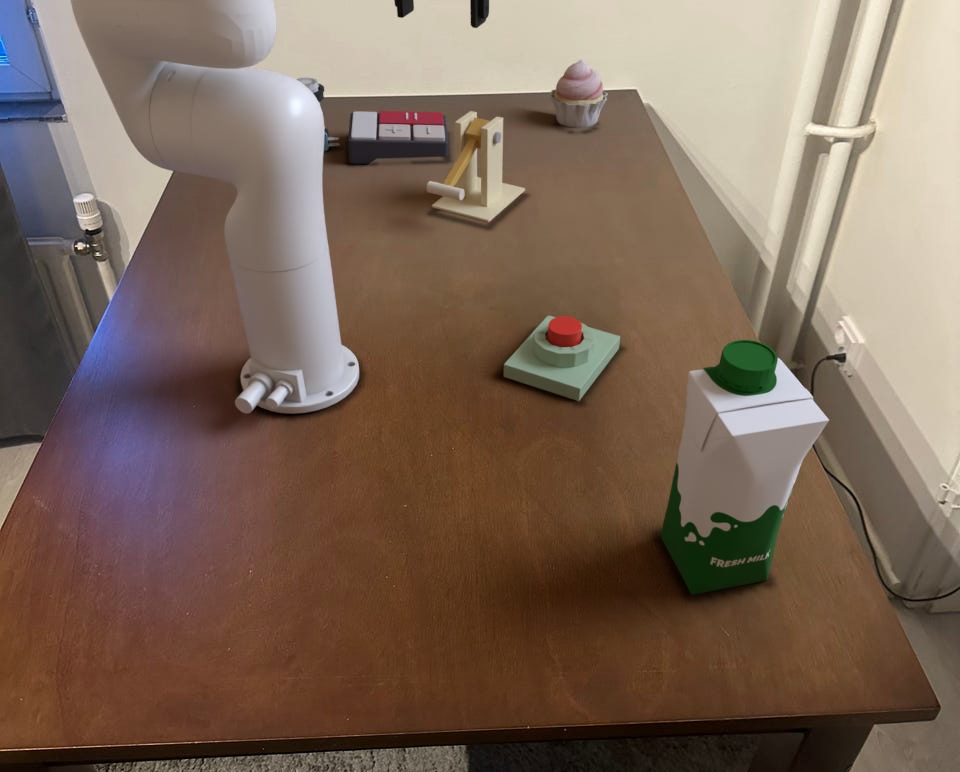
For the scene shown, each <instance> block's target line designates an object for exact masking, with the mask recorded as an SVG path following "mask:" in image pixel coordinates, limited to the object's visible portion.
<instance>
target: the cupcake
mask: <svg viewBox="0 0 960 772" xmlns="http://www.w3.org/2000/svg"><path fill="white" fill-rule="evenodd" d="M550 92H551V94H550V96H549V98H550V99H551V102H552V104H553V106H554V112H555V116H556V120H557V123H558V124H560V125H562V126H565V127H569V128H574V129H575V128H576V129H577V128H578V129H579V128H582V129H583V128H589V127H592V126H594V125H595V124H597V123H598V120H599V117H600V113H601V110H602V109H603V107H604V105H605V103H606V101H607V100H608V97H607V96H608V92H606V91H604V84H603V81H602V79H601V76H600V74H599V73H598V72H597V70H594V69H593V68H590V67H589V65H588V64H587V63H586V61H585V60H583V59H579V60H578V61H576V62H574V63H572V64H571V65H568V67H567V68H566V69H565V71H564V73H563V75H562V76H561V77H560V78H559V79H558V81H557V83H556V85H555V89H552V90H550Z"/></svg>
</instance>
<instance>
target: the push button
mask: <svg viewBox="0 0 960 772" xmlns="http://www.w3.org/2000/svg"><path fill="white" fill-rule="evenodd" d="M295 79H296V80H298V81H300V82H301V83H303V84H304V85H305V86H306V87H307V88H309V89H310V90H311V92H312V93H313V94H314V95H315V97H316V98H317V100H318V102H319V104H320V105H321V102H322V101H323V100H324V98H325V96H324V95H325V94H324V92H325V86H324V85H323V84H321V83H318V80H317V79H316V78H314V77H308V76H307V77H299V78H295ZM324 128H325V132H324V152H325V151H328V150H329V148H330V147H336V146H337V147H339V146H340V143H339V142H330V141H339V139H340V137H333V136H330V135H329V129H328V128H326V125H324Z"/></svg>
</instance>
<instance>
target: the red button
mask: <svg viewBox="0 0 960 772" xmlns="http://www.w3.org/2000/svg"><path fill="white" fill-rule="evenodd" d="M581 323H582V322H581V321H580V320H578V318H575V317H572V316H567V315H563V316H557V317H556V318H554V319H552V320H551V321H550V322H549V324H548V341H549V343H550V344H552V345H555V346H558V347H573V346H576V345H578V344H579V343H580V341H581V332H582V324H581Z"/></svg>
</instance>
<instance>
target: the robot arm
mask: <svg viewBox="0 0 960 772" xmlns="http://www.w3.org/2000/svg"><path fill="white" fill-rule="evenodd" d="M393 1H394V6H395V7H396V15H397V18H399V19H400V18H401V19H403V18H405V17H406V16H407V15H410V14H411V13H412V12H414V10H415V5H414V3H415V1H414V0H393ZM469 1H470V5H469V6H470V7H469V8H470V27H471V28H473V29H477V28H479V27H481V26H482V25H483V24H485V22H486V21H487V19H488V18H489V16H490V0H469ZM70 4H71V8H72V9H71V10H72V13H73V17H74V21H75V23H76V25H77V26H76V27H77V29H78V30H79V32H80V35H81V37H82V40H83V42H84V45H85V47H86V49H87V51H88V53H89V55H90V58H91V60H92V62H93V64H94V67H95V69H96V71H97V73H98V75H99V77H100V80H101V82H102V84H103V86H104V89H105V91H106V92H107V95H108V97H109V99H110V102H111V103H112V106H113V108H114V110H115V112H116V114H117V117H118V118H119V121H120V122H121V125H122V127H123V129H124V131H125V133H126V135H127V137H128V138H129V140H130V142H131V143H132V145H133V146H134V148H135V149H136V151H137V152H138V153H139V154H140V155H141V156H142V157H143V158H144V159H145V160H146V161H148V162H149V163H151V164H152V165H154V166H155V167H158V168H160V169H164V170H167V171H171V172H175V173H180V174H185V175H191V176H195V177H196V176H197V177H202V178H208V179H213V180H216V181H219V182H225V183H227V184H228V183H229V184H230V185H233V186H234V187H235V188H236V192H237V193H236V198H235V201H234V202H233V204H232V206H231V207H230V208H229V210H228V213H227V215H226V217H225V221H224V228H223V236H224V241H225V247H226V251H227V256H228V259H229V264H230V269H231V273H232V278H233V283H234V288H235V291H236V296H237V297H236V298H237V301H238V305H239V311H240V314H241V319H242V324H243V329H244V332H245V337H246V342H247V348H248V351H249V356H250V357H249V358H248V360H247V361H246V362H244V365H243V367H242V368H241V372H240V376H239V377H240V384H241V389H242V391H241V393H240V394H239V395H238V396H237V397H236V398H235V400H234V404H235V407H236V408H237V410H238V411H240V412H241V413H242V414H246V415H247V414H251V413H252V411H253V410H254V409H255V408H256V407H257V406H258V407H259V408H262V409H264V410H267V411H270V412H274V413H279V414H293V415H294V414H295V415H296V414H306V413H312V412H316V411H321V410H323V409H327V408H329V407H331V406H333V405H335V404H337V403H339V402H340V401H342V400H343V399H345V398H347V396H349V395H350V394H351V393H353V390H354V389H355V388H356V386H357V385H358V382H359V379H360V366H359V361H358V358H357V356H356V355H355V354H354V353H353V351H351V350H350V348H348V347H346V346H345V345H343V344H342V340H341V339H342V338H341V330H340V321H339V315H338V309H337V308H338V307H337V301H336V300H337V299H336V293H335V284H334V277H333V269H332V261H331V254H330V245H329V241H328V232H327V226H326V225H327V224H326V216H325V208H324V207H325V206H324V193H323V192H324V191H323V188H324V187H323V186H324V185H323V170H324V153H325V151H324V132H325V128H326V127H325V128H324V126H325V117H324V114H323V110H322V107H321V103H320V104H319V102H318V100H317V98H316V97H315V95H314V94H313V93H312V92H311V90H310V89H309V88H307V87H306V86H305V85H304V84H303V83H301V82H300V81H298V80H296V79H297V78H294V77H292V76H291V75H288V74H284V73H283V72H279V71H275V70H271V69H266V68H259V67H254V66H257V65H258V64H259V63H261V62H262V61H264V60H265V59H266V58H267V57H268V56H269V54H271V52H272V50H273V48H274V46H275V43H276V37H277V31H278V30H277V29H278V25H277V14H276V7H275V2H274V0H70Z"/></svg>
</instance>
